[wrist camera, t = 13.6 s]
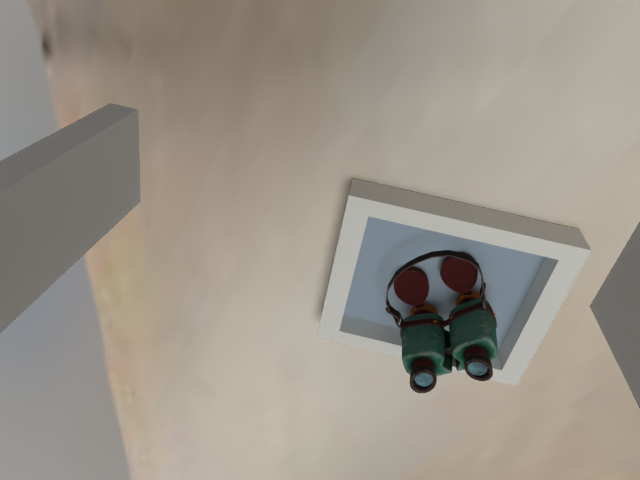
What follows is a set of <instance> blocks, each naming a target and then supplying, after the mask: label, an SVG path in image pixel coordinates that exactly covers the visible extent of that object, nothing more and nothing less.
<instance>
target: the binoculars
mask: <svg viewBox="0 0 640 480" xmlns="http://www.w3.org/2000/svg"><path fill="white" fill-rule="evenodd" d="M446 256H447V257H446ZM435 257H446V258H445V259H444V260H443V263H442V266H441V270H440V275H441V279H442V281H443V282H444V283H445V285H446V286H448V287H449V288H450V289H452V290H453V291H456V292H459V293H460V294H459V295H458V297H457V299H456V307H455V308H454V309H452V310H451V312H450V314H449V318H448V319H447V320H445V321H444V319H443V318H442V317H441V316H439V315H438V311H437V309H436V308H435V307H433V306H432V305H430V304H428V303H424V301H425V300H426V298H427V296H428V293H429V282H428V278H427V275H426V273H425V272H424V271H423V270H422V269H420V268H418V267H415V266H414V265H415V264H417V263H419V262H422V261H425V260H428V259H430V258H435ZM478 269H479V272H480V275H481V288H480V291H479V292H480V293H478V292H476V291H472V290H471V289H472V288H473V287H474V286H475V284H476V281H477V277H478ZM393 282H394V291H395V294H396V295H397V297H398V298H399V299H400V300H401V301H403V302H404V303H406V304H409V305H413V307H412V309H411V311H410V316H408V317H406V318H404V319H403V317H402V315H401V313H400V312H399V311H397V310H396V309H394V308H393V307H392V306H391V305H390V302H389V300H388V290H389V289H390V287H391V285H392V284H393ZM485 289H486V283H485V282H484V279H483V274H482V271H481V268H480V266H479V263H478V262H476V260H475V259H474V258H473V257H472V256H471V255H469V254H467V253H463V252H455V251H452V250H442V251H432V252H429V253H427V254H424V255H421V256H418V257H417V258H415V259H413V260H411V261H409V262H407V263H406V264H405V265H403V266H402V267H401V268H400V269H398V270H397V271H396V272H395V274H394V276H393V277H392V279H391V280H390V282H389V284H388V288H387V295H386V306H387V307H386V308H385V309H386V311H387V313H389V314H390V315H392V316H393V318H394V320H395V323H396V325H397V327H398V328H399V329H400V337H401V339H402V360H403V365H404V367H405V370H406V371H407V373H409V374H410V386H411V388H412V389H413V390H414V391H415V392H417V393H426V392H429V391H431V390H432V389H433V388H434V387H435V385H436V376H438V375H443V374H447V373H451V372H452V366H453V367H456V369H457V371H461V370H465V371H466V373H467V374H468V375H469V376H470V377H471V378H473V379H475V380H479V381H486V380H489V379H491V377H492V376H493V369H492V363H491V360H493V359H494V358H495V357H496V355H497V350H498V347H497V336H496V328H497V321H496V317H495V313H494V312H493V309H492V307H491V305H490V303H489V302H488V301H487V300H486V296H485ZM400 319H401V322H400ZM399 322H400V325H399V324H398V323H399ZM448 325H449V331H447V330H445V329H444V327H446V326H448Z"/></svg>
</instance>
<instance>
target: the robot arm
mask: <svg viewBox="0 0 640 480" xmlns="http://www.w3.org/2000/svg"><path fill="white" fill-rule="evenodd" d="M139 202H140V161H139V118H138V109H134V108H129V107H125V106H120V105H116V104H111V103H110V104H108V105H106V106H105V107H103V108H101V109H99V110H97V111H95V112H93V113H91V114H89V115H87V116H85V117H84V118H82V119H80V120H78V121H76V122H74V123H72V124H70V125H68V126H66V127H64V128H63V129H61V130H59V131H57V132H55V133H53V134H51V135H49V136H47V137H45V138H43V139H42V140H40V141H38V142H36V143H34V144H32V145H30V146H28V147H26V148H25V149H23V150H21V151H19V152H17V153H15V154H13V155H11V156H9V157H7V158H5V159H4V160H2V161H0V333H1V332H2V331H3V330H4V329H5V328H6V327H7V326H9V325H10V324H11V323H12V322H13V321H14V320H15V319H16V318H17V317H18V316H19V315H20V314H21V313H22V312H23V311H24V310H26V309H27V308H28V307H29V306H30V305H31V304H32V303H33V302H34V301H35V300H36V299H37V298H38V297H39V296H40V295H42V294H43V293H44V292H45V291H46V290H47V289H48V288H49V287H50V286H51V285H52V284H53V283H54V282H55V281H56V280H57V279H59V277H61V276H62V275H63V274H64V273H65V272H66V271H67V270H68V269H69V268H70V267H71V266H72V265H73V264H74V263H76V262H77V261H78V260H79V259H80V258H81V257H82V256H83V255H84V254H85V253H86V252H87V251H88V250H89V249H90V248H91V247H93V246H94V245H95V244H96V243H97V242H98V241H99V240H100V239H101V238H102V237H103V236H104V235H105V234H106V233H107V232H108V231H110V230H111V229H112V228H113V227H114V226H115V225H116V224H117V223H118V222H119V221H120V220H121V219H122V218H123V217H124V216H125V215H127V214H128V213H129V212H130V211H131V210H132V209H133V208H134V207H135V206H136V205H137V204H138V203H139ZM590 308H591V310H592V312H593V314H594V316H595V318H596V320H597V322H598V324H599V326H600V328H601V330H602V332H603V334H604V336H605V338H606V340H607V342H608V344H609V346H610V349H611V351H612V353H613V355H614V357H615V359H616V361H617V363H618V365H619V367H620V369H621V371H622V373H623V375H624V377H625V379H626V381H627V383H628V385H629V387H630V389H631V391H632V394H633V396H634V398H635V400H636V402H637V404H638V406H639V408H640V222H639V224H638V225H637V227H636V229H635V230H634V232H633V234H632V236H631V237H630V239H629V241H628V242H627V244H626V246H625V247H624V249H623V251H622V252H621V254H620V256H619V258H618V259H617V261H616V263H615V264H614V266H613V268H612V269H611V271H610V273H609V274H608V276H607V278H606V280H605V281H604V283H603V285H602V286H601V288H600V290H599V291H598V293H597V295H596V296H595V298H594V300H593V301H592V303H591V305H590Z"/></svg>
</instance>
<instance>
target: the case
mask: <svg viewBox="0 0 640 480" xmlns="http://www.w3.org/2000/svg"><path fill="white" fill-rule="evenodd" d="M442 250H452V251H455V252H463V253H467V254H469V255H471V256H472V257H473V258H474V259H475V260H476V262H478V263H479V266H480V268H481V271H482V274H483V279H484V282H485V283H486V289H485V296H486V300H487V301H488V302H489V303H490V305H491V307H492V309H493V312H494V313H495V317H496V321H497V328H496V336H497V347H498V350H497V355H496V357H495V358H494V359H493V360H491V363H492V369H493V376H492V377H491V379H490V380H494V381H498V382H502V383H506V384H511V385H515V386H517V385H518V383H519V381H520V379H521V377H522V376H523V374H524V372H525V370H526V368H527V367H528V365H529V363H530V361H531V359H532V357H533V356H534V354H535V352H536V350H537V348H538V347H539V345H540V343H541V341H542V339H543V338H544V336H545V334H546V332H547V330H548V328H549V327H550V325H551V323H552V321H553V319H554V318H555V316H556V314H557V312H558V310H559V309H560V307H561V305H562V303H563V301H564V299H565V298H566V296H567V294H568V292H569V290H570V289H571V287H572V285H573V283H574V281H575V280H576V278H577V276H578V274H579V272H580V270H581V269H582V267H583V265H584V263H585V261H586V260H587V258H588V256H589V254H590V252H591V251H592V250H591V249H590V247H589V245H588V244H587V242H586V240H585V238H584V237H583V235H582V233H581V232H580V230H579V229H575V228H571V227H567V226H562V225H558V224H553V223H549V222H544V221H540V220H536V219H531V218H527V217H522V216H518V215H513V214H509V213H505V212H500V211H496V210H491V209H487V208H482V207H478V206H474V205H469V204H465V203H460V202H456V201H452V200H447V199H443V198H438V197H434V196H429V195H425V194H421V193H416V192H412V191H407V190H403V189H398V188H394V187H390V186H385V185H381V184H376V183H372V182H367V181H363V180H359V179H354V178H353V180H352V184H351V188H350V192H349V196H348V200H347V205H346V209H345V214H344V218H343V223H342V227H341V231H340V236H339V240H338V245H337V249H336V254H335V258H334V262H333V267H332V271H331V276H330V280H329V285H328V289H327V294H326V298H325V302H324V307H323V311H322V316H321V320H320V325H319V329H318V333H317V338H321V339H325V340H329V341H333V342H337V343H341V344H345V345H350V346H354V347H358V348H362V349H366V350H370V351H374V352H378V353H383V354H387V355H391V356H395V357H399V358H402V339H401V337H400V329H399V328H398V327H397V325H396V323H395V320H394V318H393V316H392V315H390V314H389V313H387V311H386V309H385V308H386V307H387V306H386V295H387V288H388V284H389V282H390V280H391V279H392V277H393V276H394V274H395V272H396V271H397V270H398V269H400V268H401V267H402V266H403V265H405V264H406V263H407V262H409V261H411V260H413V259H415V258H417V257H418V256H421V255H424V254H427V253H429V252H432V251H442ZM446 257H447V256H446ZM446 257H435V258H430V259H428V260H425V261H422V262H419V263H417V264H415V265H414V266H415V267H418V268H420V269H422V270H423V271H424V272H425V273H426V275H427V278H428V282H429V293H428V296H427V298H426V300H425V301H424V303H428V304H430V305H432V306H433V307H435V308H436V309H437V311H438V315H439V316H441V317H442V318H443V319H444V321H445V320H447V319H448V318H449V314H450V312H451V310H452V309H454V308H455V307H456V299H457V297H458V295H459V294H460V293H459V292H456V291H453V290H452V289H450V288H449V287H448V286H446V285H445V283H444V282H443V281H442V279H441V275H440V270H441V266H442V263H443V260H444V259H445V258H446ZM480 288H481V275H480V272H479V269H478V277H477V281H476V284H475V286H474V287H473V288H472V289H471V290H472V291H476V292H478V293H480V292H479V291H480ZM388 300H389V302H390V305H391V306H392V307H393V308H394V309H396V310H397V311H399V312H400V313H401V315H402V317H403V319H404V318H406V317H408V316H410V311H411V309H412V307H413V305H409V304H406V303H404V302H403V301H401V300H400V299H399V298H398V297H397V295H396V294H395V291H394V282H393V284H392V285H391V287H390V289H389V290H388ZM400 322H401V319H400ZM400 322H399V323H398V324H399V325H400ZM444 329H445V330H447V331H449V325H448V326H446V327H444ZM452 370H453V371H457V369H456V367H453V366H452ZM457 372H461V373H465V374H467V373H466V371H465V370H461V371H457Z"/></svg>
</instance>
